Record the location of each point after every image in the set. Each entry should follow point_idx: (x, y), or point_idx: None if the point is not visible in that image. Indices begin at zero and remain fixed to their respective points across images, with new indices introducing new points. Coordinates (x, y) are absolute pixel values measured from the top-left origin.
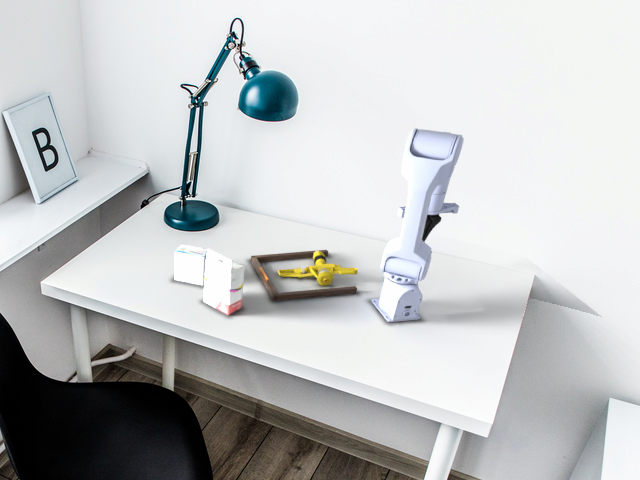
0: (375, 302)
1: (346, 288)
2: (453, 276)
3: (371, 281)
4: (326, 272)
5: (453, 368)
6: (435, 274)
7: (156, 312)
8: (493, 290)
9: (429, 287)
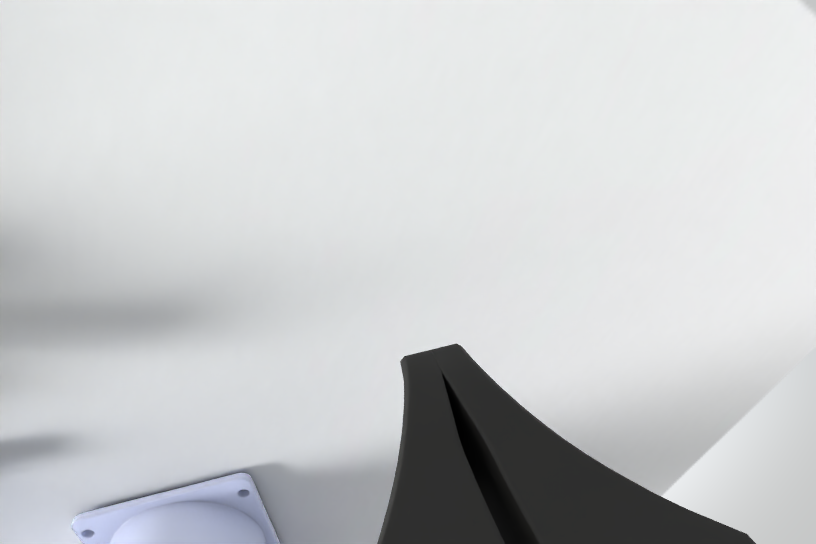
0: (93, 541)
1: None
2: (613, 237)
3: (79, 336)
4: None
5: None
6: (523, 221)
7: None
8: (716, 347)
9: None
